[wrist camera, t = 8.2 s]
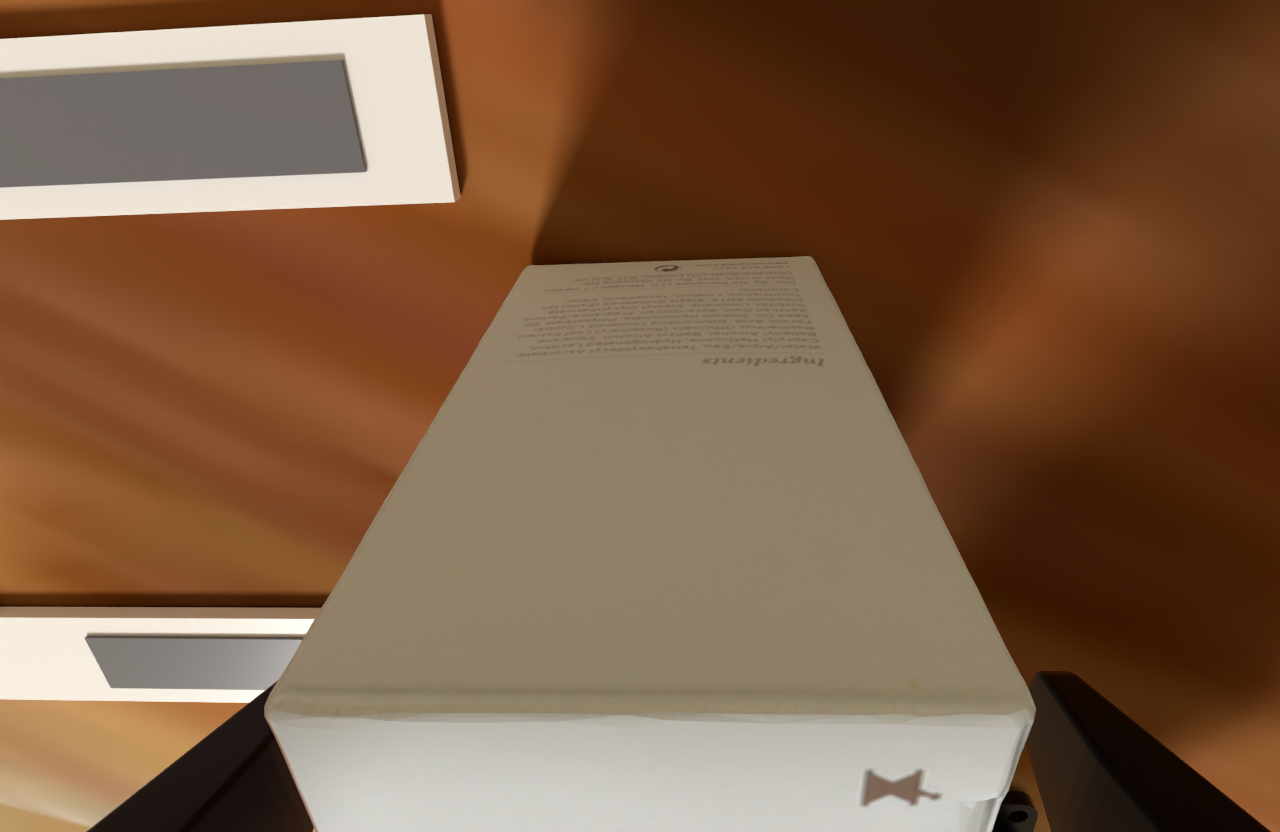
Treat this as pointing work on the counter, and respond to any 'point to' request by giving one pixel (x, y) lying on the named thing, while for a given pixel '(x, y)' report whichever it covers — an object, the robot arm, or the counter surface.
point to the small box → (657, 587)
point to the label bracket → (204, 182)
